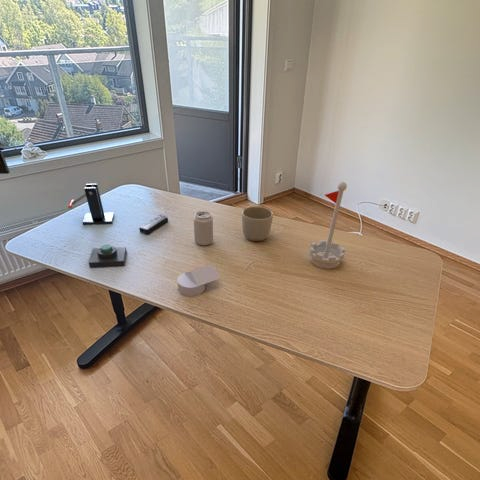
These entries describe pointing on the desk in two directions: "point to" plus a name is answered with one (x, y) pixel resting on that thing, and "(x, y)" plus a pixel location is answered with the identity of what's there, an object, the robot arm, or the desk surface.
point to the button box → (108, 257)
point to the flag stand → (329, 238)
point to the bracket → (95, 208)
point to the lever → (77, 200)
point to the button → (106, 248)
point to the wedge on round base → (196, 280)
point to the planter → (256, 222)
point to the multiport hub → (153, 224)
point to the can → (203, 228)
